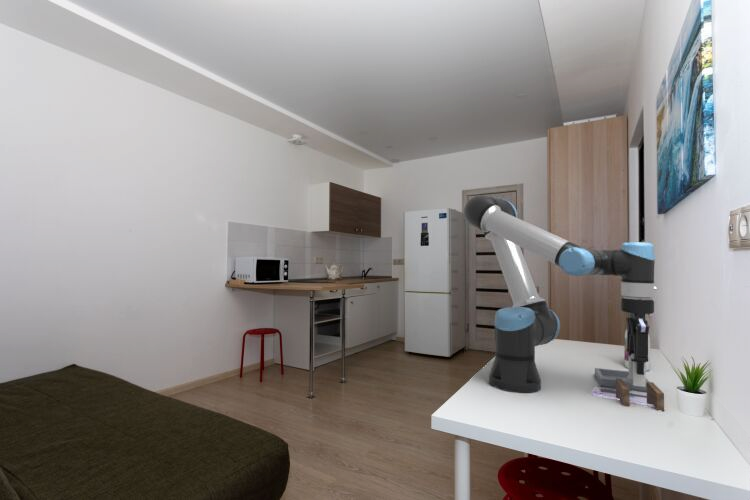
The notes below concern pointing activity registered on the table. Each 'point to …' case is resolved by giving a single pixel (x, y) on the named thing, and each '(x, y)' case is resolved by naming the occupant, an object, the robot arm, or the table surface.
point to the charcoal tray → (609, 379)
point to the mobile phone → (613, 394)
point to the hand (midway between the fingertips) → (636, 382)
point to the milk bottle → (628, 354)
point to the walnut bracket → (652, 393)
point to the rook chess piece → (631, 372)
